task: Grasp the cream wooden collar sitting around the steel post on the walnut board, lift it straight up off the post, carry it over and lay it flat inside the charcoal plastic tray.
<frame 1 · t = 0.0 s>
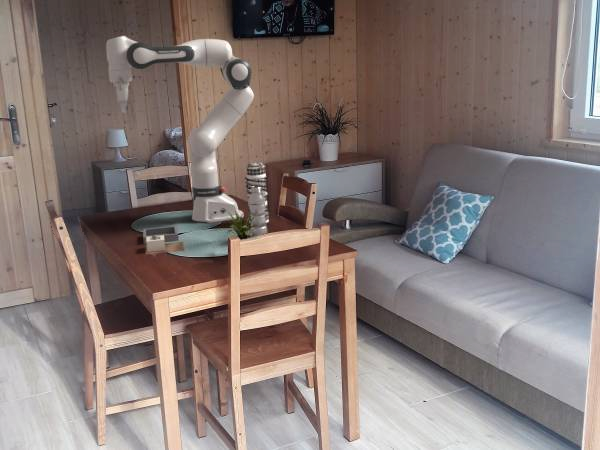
hand: (124, 111, 275), 48 cm above the table, tool pointing down, fingers open, 8 cm apart
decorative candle: (259, 222, 283), on the table
cream collar: (156, 248, 247), point 1 cm above the table, touching walnut board
charcoal tray: (161, 240, 261), on the table
plastic bottle: (259, 238, 259), on the table
house plant: (239, 254, 240), on the table
walnut board: (164, 250, 247), on the table
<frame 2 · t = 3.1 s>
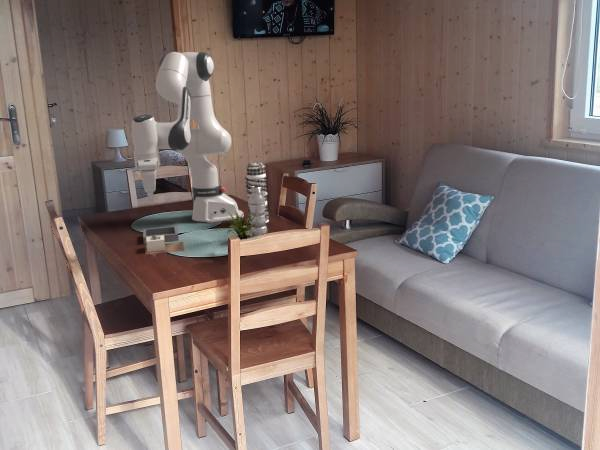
hand: (151, 199, 242), 20 cm above the table, tool pointing down, fingers open, 8 cm apart
nothing on the table moved.
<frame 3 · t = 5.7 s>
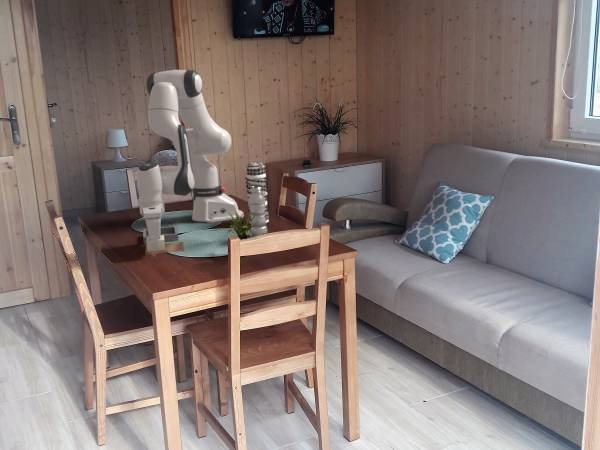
hand: (155, 244, 246), 3 cm above the table, tool pointing down, fingers closed on cream collar, 6 cm apart
cream collar: (156, 248, 247), point 1 cm above the table, touching gripper, walnut board
everything else where it was.
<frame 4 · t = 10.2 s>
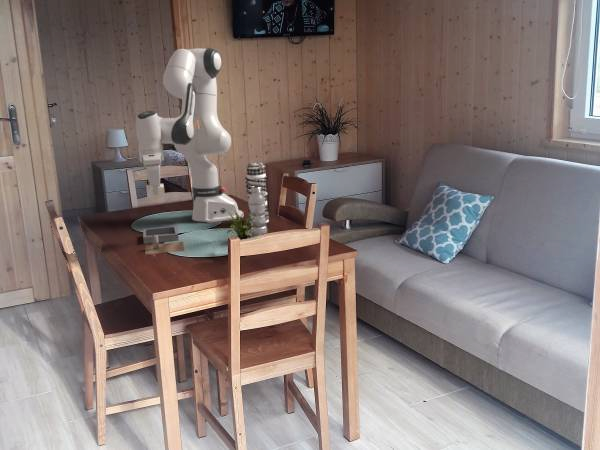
hand: (155, 192, 252), 20 cm above the table, tool pointing down, fingers closed on cream collar, 6 cm apart
cream collar: (156, 196, 253), point 18 cm above the table, touching gripper
everything else where it was.
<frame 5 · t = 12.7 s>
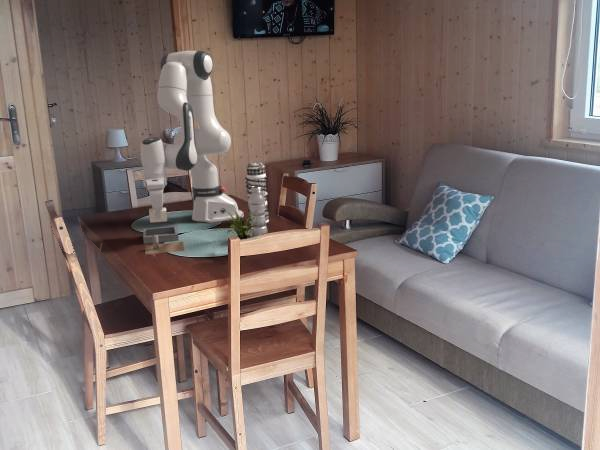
hand: (158, 216, 259), 10 cm above the table, tool pointing down, fingers closed on cream collar, 6 cm apart
cream collar: (158, 219, 259), point 8 cm above the table, touching gripper
everything else where it was.
when the fingers open (4 cm above the table, at t = 14.8 s): cream collar drops 2 cm, resting on charcoal tray.
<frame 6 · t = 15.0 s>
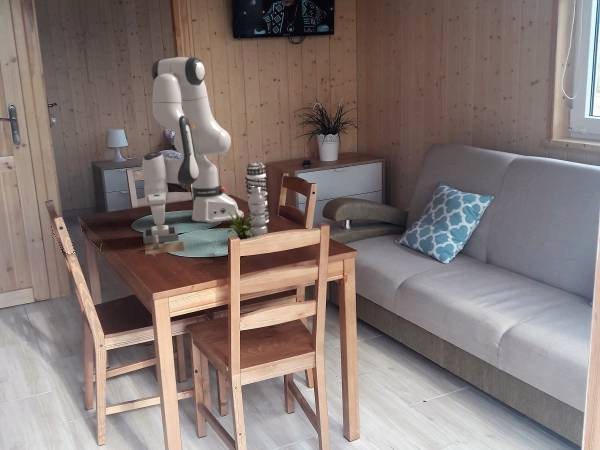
hand: (160, 230, 260), 4 cm above the table, tool pointing down, fingers open, 8 cm apart
cream collar: (160, 237, 261), point 1 cm above the table, touching charcoal tray
everything else where it was.
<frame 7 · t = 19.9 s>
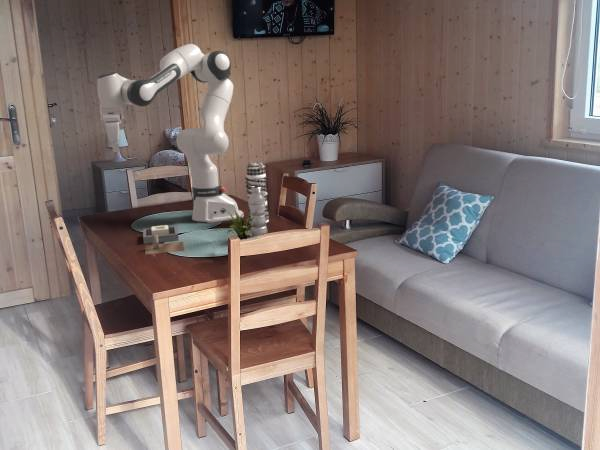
hand: (116, 150, 266), 34 cm above the table, tool pointing down, fingers open, 8 cm apart
nothing on the table moved.
at the end: cream collar inside the target area on the charcoal tray (0.0 cm from its centre), point 1.0 cm above the charcoal tray's base; cream collar tilted 0°; the gripper is holding nothing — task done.
